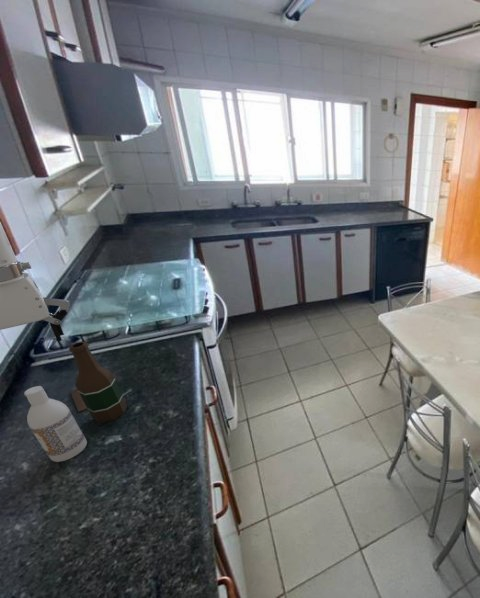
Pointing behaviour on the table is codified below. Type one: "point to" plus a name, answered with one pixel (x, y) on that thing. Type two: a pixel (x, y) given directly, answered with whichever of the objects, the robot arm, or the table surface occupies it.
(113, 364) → the table surface
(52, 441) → the bath foam
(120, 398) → the beer bottle
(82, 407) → the brown flat square slab
